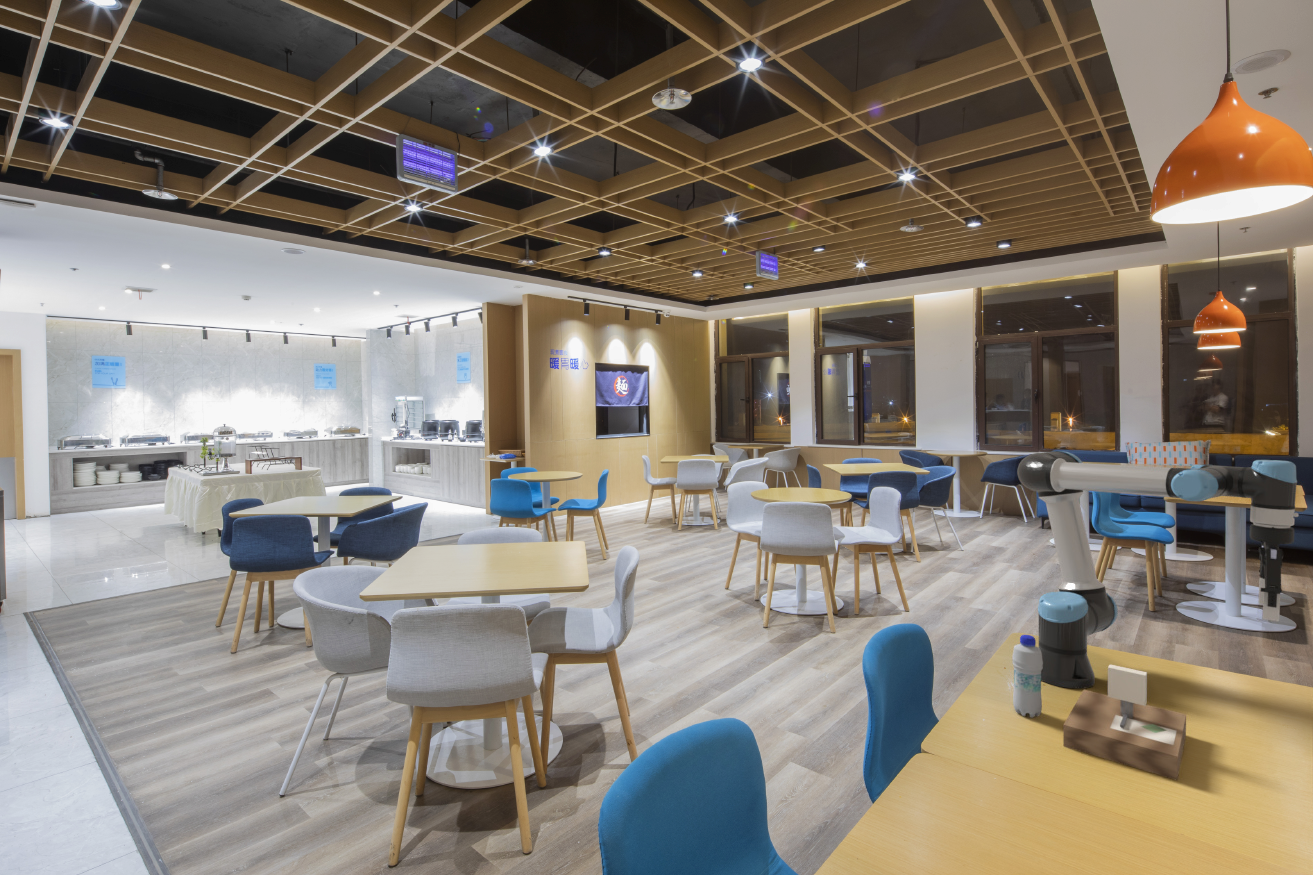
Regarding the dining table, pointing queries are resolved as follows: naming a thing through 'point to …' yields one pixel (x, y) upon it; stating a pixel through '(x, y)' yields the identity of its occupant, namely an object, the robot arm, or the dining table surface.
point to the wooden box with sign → (1127, 734)
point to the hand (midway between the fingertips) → (1268, 612)
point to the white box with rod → (1127, 689)
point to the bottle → (1027, 677)
